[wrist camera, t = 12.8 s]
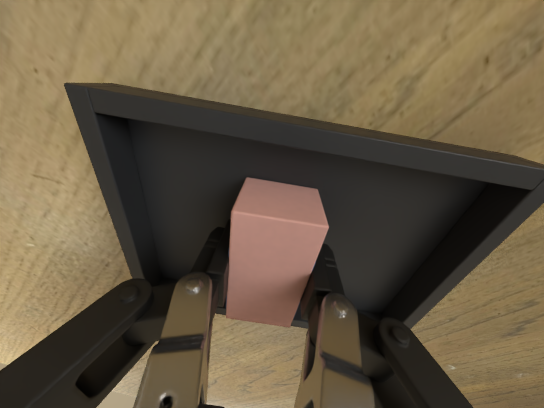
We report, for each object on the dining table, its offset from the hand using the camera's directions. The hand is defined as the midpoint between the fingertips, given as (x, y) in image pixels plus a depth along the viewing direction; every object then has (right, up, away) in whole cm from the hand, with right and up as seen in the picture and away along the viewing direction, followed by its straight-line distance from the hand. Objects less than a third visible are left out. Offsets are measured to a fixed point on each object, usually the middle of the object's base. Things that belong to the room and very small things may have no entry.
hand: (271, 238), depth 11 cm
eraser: (0, 0, 0) cm, 0 cm away
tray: (+1, 0, +1) cm, 1 cm away
